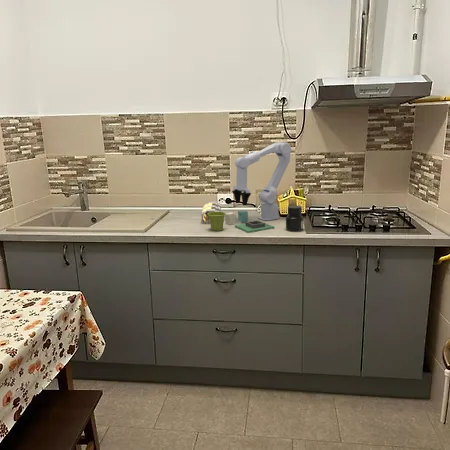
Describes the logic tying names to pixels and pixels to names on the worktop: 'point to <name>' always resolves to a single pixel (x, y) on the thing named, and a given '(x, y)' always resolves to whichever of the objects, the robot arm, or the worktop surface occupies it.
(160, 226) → the worktop surface
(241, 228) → the board
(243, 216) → the teal plug
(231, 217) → the offwhite plug
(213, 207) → the yellow striped curved piece
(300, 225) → the ink bottle
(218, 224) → the plant pot
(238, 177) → the robot arm
